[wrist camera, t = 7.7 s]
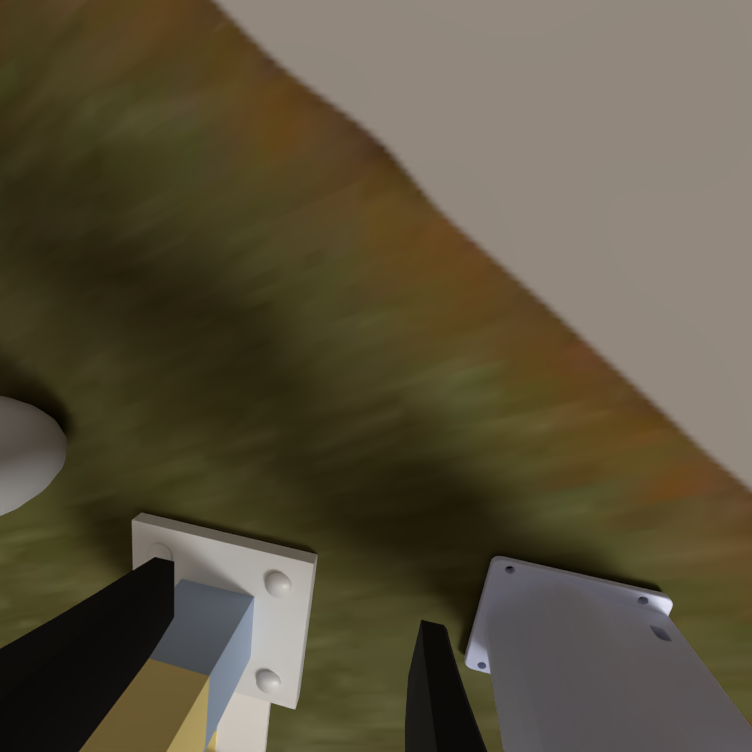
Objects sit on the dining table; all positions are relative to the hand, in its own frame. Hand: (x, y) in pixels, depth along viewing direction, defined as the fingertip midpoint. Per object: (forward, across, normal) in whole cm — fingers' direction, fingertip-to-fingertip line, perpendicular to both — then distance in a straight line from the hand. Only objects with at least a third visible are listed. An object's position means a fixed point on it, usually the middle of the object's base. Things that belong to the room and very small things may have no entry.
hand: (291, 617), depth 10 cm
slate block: (+10, +8, +13) cm, 18 cm away
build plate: (+10, +8, +13) cm, 18 cm away
